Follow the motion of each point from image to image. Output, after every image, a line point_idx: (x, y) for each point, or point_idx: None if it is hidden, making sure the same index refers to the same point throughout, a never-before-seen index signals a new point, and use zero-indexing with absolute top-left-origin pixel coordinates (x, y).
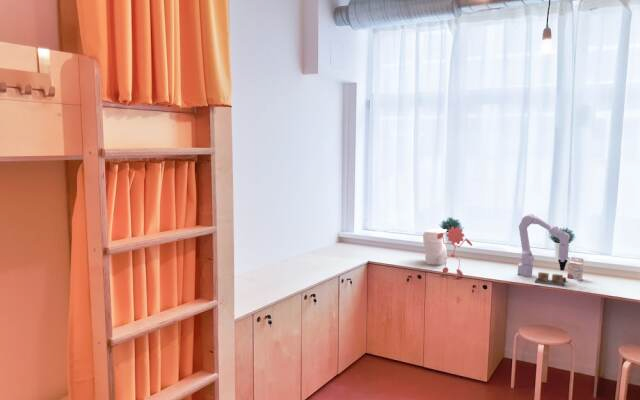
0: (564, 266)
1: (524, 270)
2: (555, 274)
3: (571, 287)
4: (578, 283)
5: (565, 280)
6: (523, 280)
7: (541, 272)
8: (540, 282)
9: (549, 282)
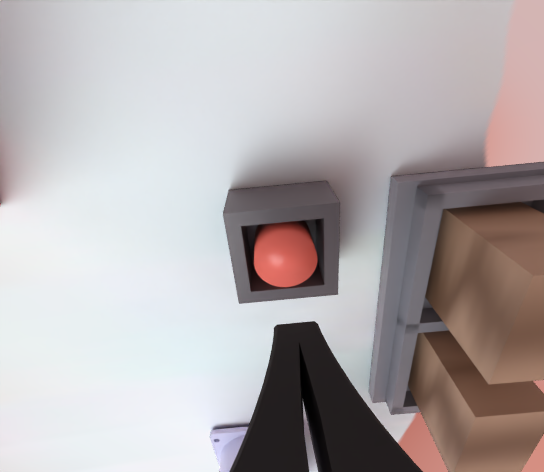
0: (361, 406)
1: None
2: (520, 356)
3: (498, 83)
4: (192, 16)
5: (336, 198)
6: (396, 438)
7: (461, 464)
8: None
9: None
